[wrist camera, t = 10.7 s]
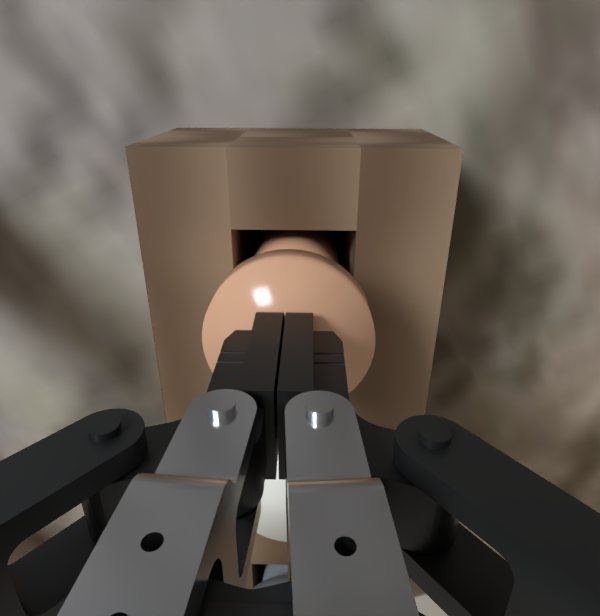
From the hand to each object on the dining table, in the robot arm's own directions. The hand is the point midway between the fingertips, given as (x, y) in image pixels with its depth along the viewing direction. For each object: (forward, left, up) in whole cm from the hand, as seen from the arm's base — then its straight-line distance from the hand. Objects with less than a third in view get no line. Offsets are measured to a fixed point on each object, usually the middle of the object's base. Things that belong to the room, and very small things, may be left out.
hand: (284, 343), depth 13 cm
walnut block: (0, +8, -10) cm, 13 cm away
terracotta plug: (0, 0, -7) cm, 7 cm away
